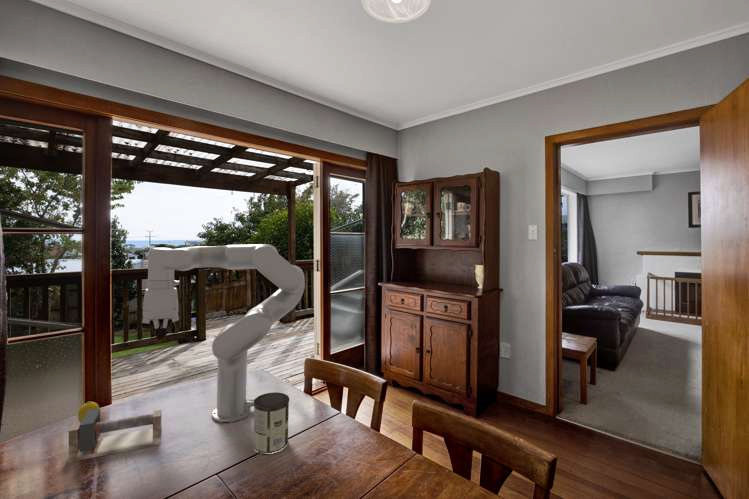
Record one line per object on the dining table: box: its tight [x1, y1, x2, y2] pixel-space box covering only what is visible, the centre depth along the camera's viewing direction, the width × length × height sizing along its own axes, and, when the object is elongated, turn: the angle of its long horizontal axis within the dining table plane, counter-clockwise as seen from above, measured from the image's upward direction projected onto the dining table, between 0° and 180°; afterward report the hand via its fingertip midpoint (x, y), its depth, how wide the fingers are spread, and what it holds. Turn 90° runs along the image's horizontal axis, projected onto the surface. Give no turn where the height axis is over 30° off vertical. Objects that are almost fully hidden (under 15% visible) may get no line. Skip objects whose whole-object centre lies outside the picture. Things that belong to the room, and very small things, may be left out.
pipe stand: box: [65, 409, 163, 463], centre depth 108 cm, size 22×9×8 cm, turn 116°
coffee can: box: [253, 391, 290, 453], centre depth 111 cm, size 10×10×14 cm
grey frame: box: [80, 408, 101, 452], centre depth 105 cm, size 3×9×8 cm, turn 26°
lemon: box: [77, 401, 100, 423], centre depth 118 cm, size 6×6×8 cm
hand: (160, 339), depth 123 cm, fingers closed
